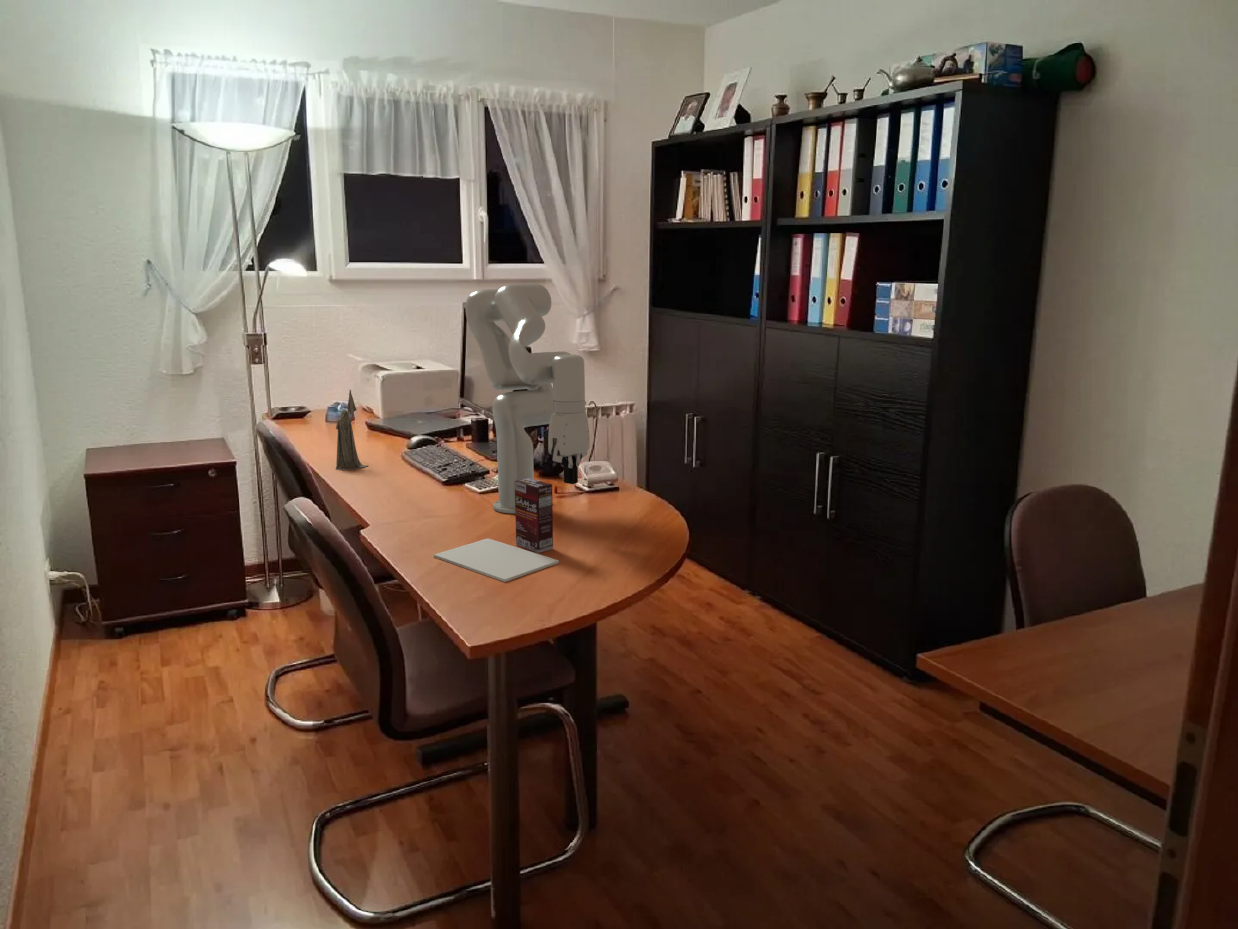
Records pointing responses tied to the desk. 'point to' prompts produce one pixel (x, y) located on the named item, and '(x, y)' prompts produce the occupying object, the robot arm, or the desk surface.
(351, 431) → the wizard figurine
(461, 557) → the mat
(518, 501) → the supplement box
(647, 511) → the desk surface
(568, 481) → the robot arm
